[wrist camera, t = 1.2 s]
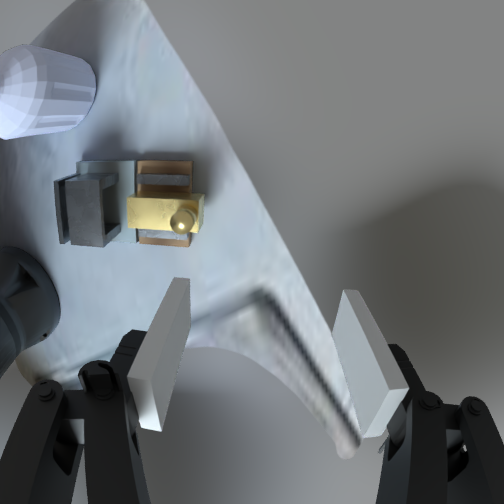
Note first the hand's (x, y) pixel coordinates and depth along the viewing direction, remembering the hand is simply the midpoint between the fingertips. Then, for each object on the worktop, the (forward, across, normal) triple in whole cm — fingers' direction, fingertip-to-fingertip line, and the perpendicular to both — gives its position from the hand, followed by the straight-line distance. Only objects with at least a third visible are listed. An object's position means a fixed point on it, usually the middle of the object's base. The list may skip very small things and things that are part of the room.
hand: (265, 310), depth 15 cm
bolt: (+17, -9, 0) cm, 20 cm away
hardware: (+18, -14, 0) cm, 23 cm away
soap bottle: (+19, -23, +13) cm, 33 cm away
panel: (+19, -14, 0) cm, 24 cm away
